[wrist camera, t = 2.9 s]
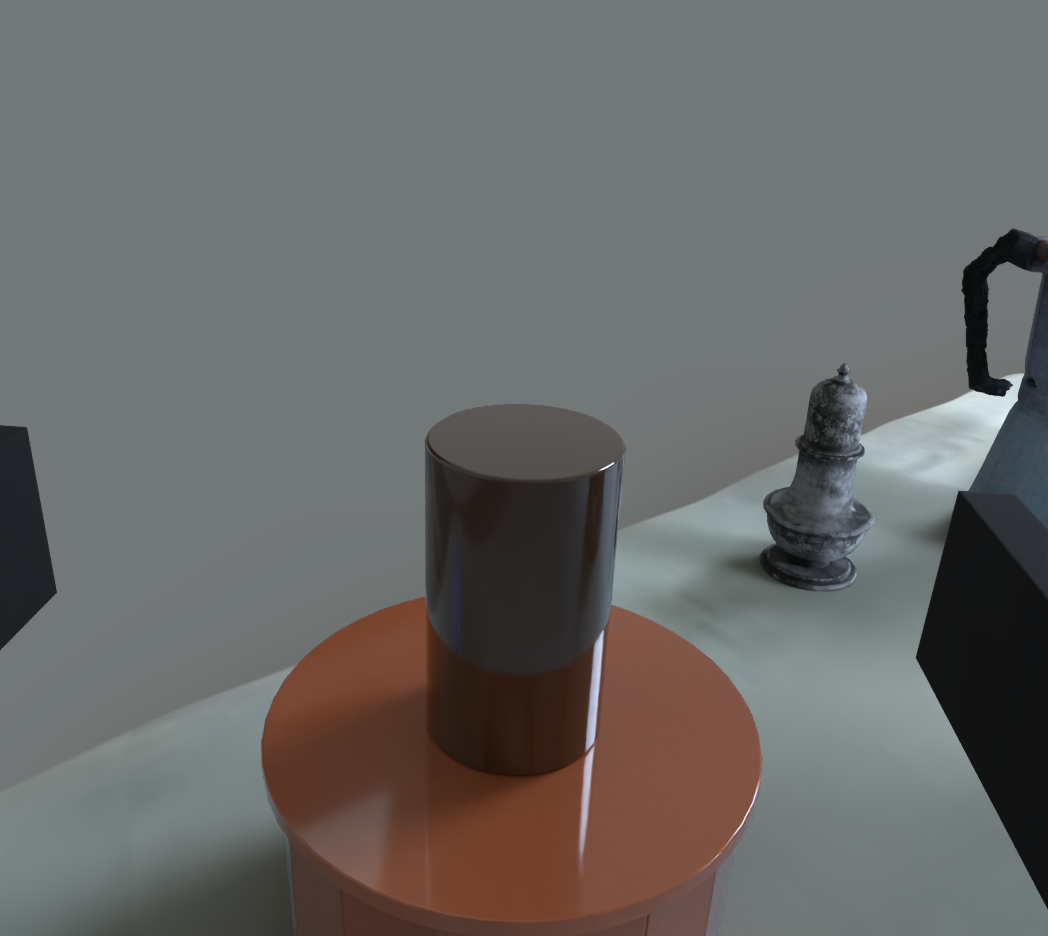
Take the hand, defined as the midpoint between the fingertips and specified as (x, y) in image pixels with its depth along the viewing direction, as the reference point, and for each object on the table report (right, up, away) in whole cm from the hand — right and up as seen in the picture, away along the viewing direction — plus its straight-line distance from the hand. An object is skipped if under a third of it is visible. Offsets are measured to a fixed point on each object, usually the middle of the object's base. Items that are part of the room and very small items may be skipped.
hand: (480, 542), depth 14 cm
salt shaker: (+17, -5, +40) cm, 44 cm away
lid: (0, -7, +15) cm, 17 cm away
